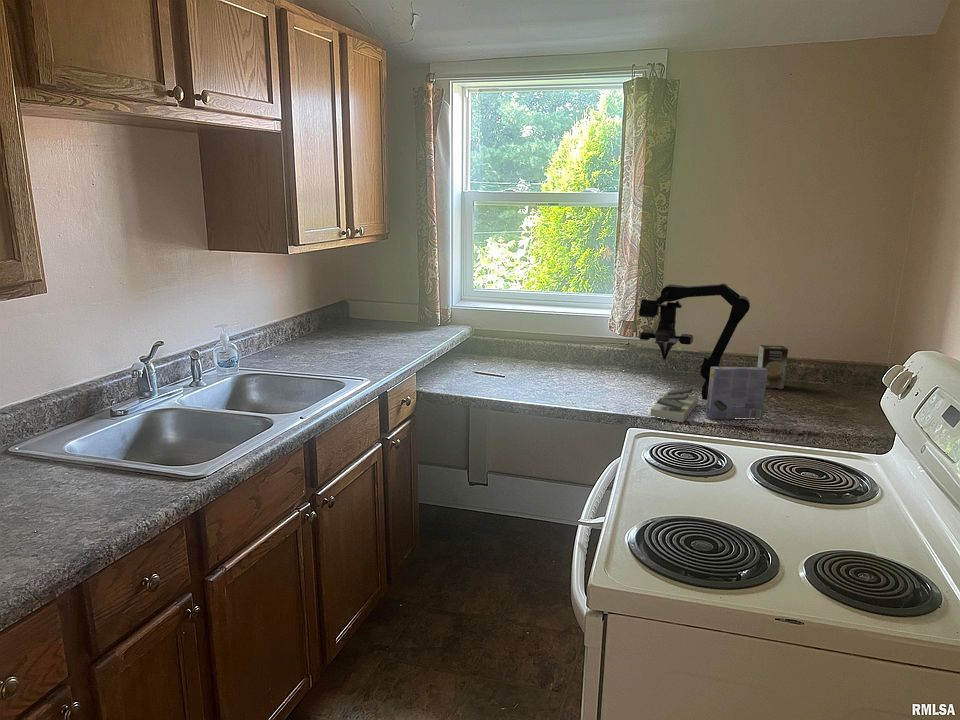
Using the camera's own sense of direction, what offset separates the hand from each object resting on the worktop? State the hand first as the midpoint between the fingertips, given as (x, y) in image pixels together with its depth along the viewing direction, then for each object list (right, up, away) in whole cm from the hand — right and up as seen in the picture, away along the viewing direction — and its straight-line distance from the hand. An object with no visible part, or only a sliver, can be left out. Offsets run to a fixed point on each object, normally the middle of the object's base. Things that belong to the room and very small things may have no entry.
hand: (664, 359), depth 259 cm
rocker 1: (+2, -12, -12) cm, 17 cm away
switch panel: (-1, -18, -18) cm, 25 cm away
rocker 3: (-5, -15, -26) cm, 31 cm away
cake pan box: (+17, -20, -25) cm, 37 cm away
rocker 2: (-1, -14, -19) cm, 24 cm away
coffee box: (+45, -11, +12) cm, 47 cm away
